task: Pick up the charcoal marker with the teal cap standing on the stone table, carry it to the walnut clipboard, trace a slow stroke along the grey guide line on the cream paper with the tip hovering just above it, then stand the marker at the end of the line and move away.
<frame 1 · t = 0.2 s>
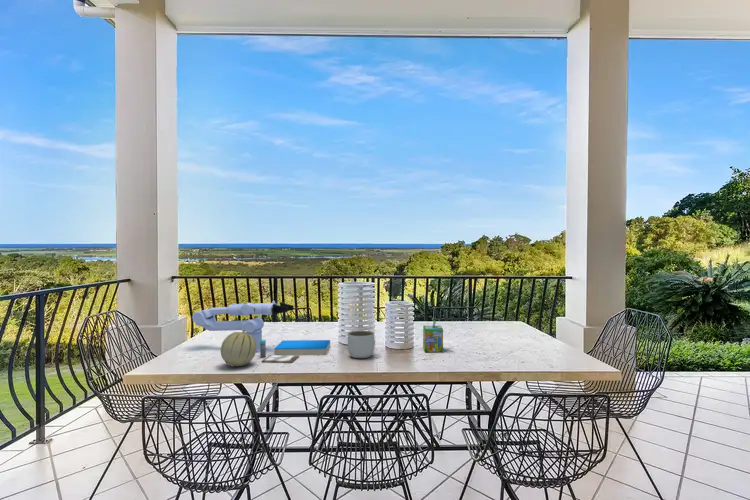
hand: (290, 308, 191), 21 cm above the table, tool horizontal, fingers open, 7 cm apart
book: (303, 352, 191), on the table
clipboard: (280, 359, 175), on the table
marker: (263, 357, 179), on the table
cantaloupe: (238, 366, 166), on the table
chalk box: (433, 350, 189), on the table
planter: (361, 356, 179), on the table
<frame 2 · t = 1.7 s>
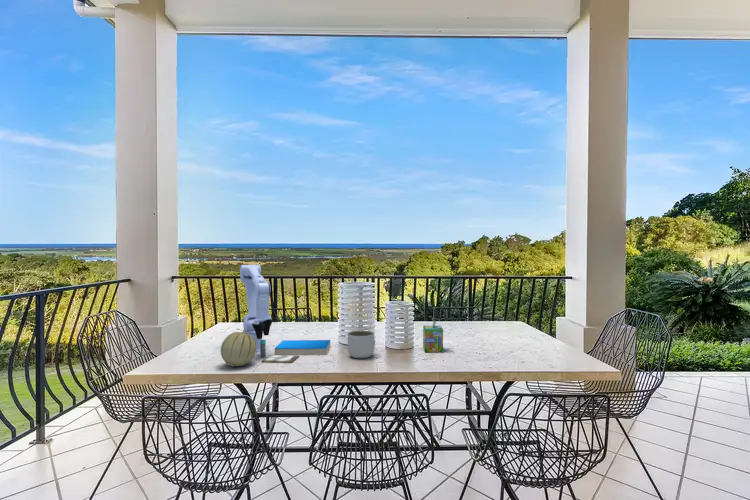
hand: (262, 337, 179), 9 cm above the table, tool pointing down, fingers open, 7 cm apart
nothing on the table moved.
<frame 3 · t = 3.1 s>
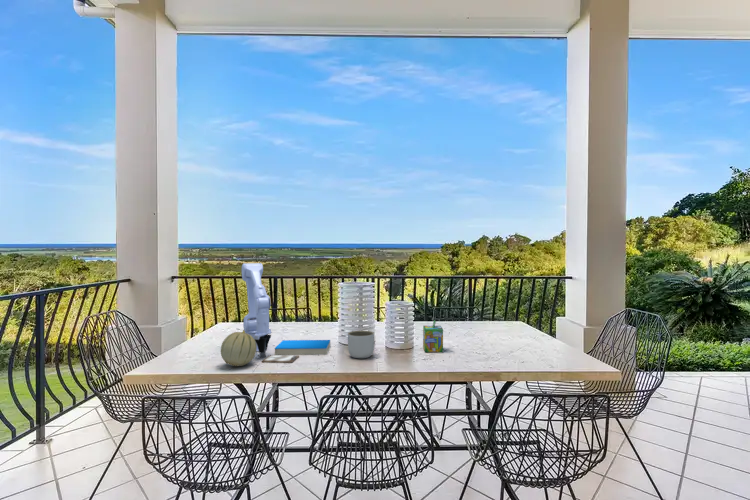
hand: (262, 351, 179), 3 cm above the table, tool pointing down, fingers closed on marker, 2 cm apart
marker: (263, 357, 179), on the table, touching gripper
everything else where it was.
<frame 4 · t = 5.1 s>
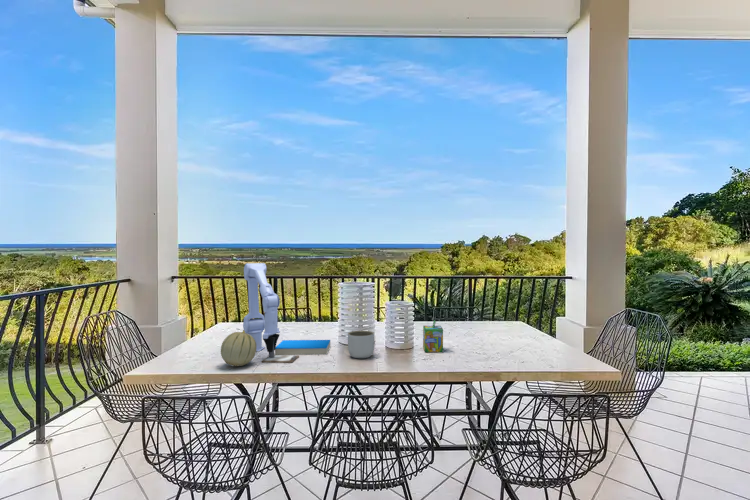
hand: (271, 351, 175), 4 cm above the table, tool pointing down, fingers closed on marker, 2 cm apart
marker: (271, 356, 175), point 1 cm above the table, touching gripper
everything else where it was.
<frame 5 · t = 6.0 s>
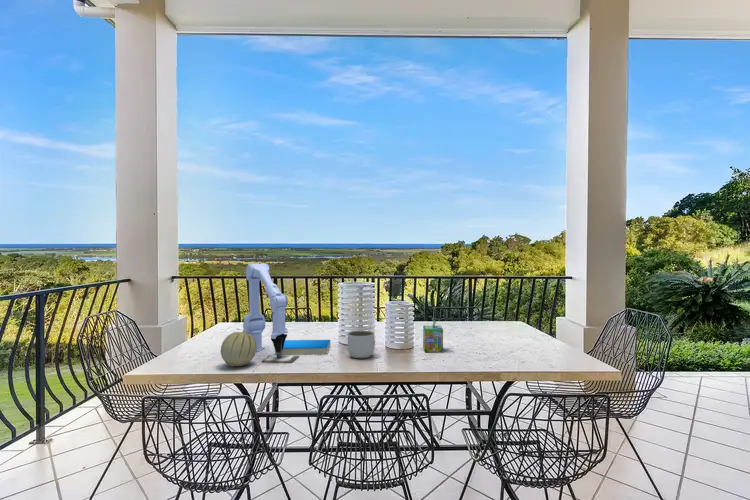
hand: (279, 351, 175), 4 cm above the table, tool pointing down, fingers closed on marker, 2 cm apart
marker: (279, 356, 175), point 1 cm above the table, touching gripper
everything else where it was.
when the fingers open (4 cm above the table, at t = 7.0 s): marker stays where it is, resting on clipboard.
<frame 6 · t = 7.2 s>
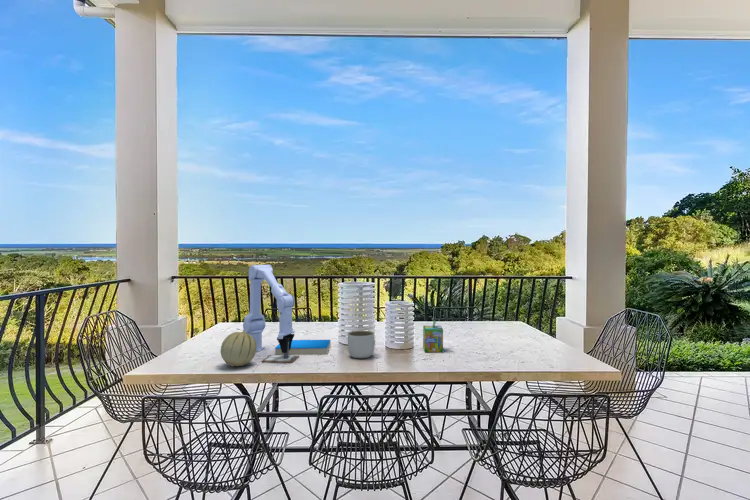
hand: (286, 351, 175), 4 cm above the table, tool pointing down, fingers open, 4 cm apart
marker: (286, 357, 175), point 1 cm above the table, touching clipboard
everything else where it was.
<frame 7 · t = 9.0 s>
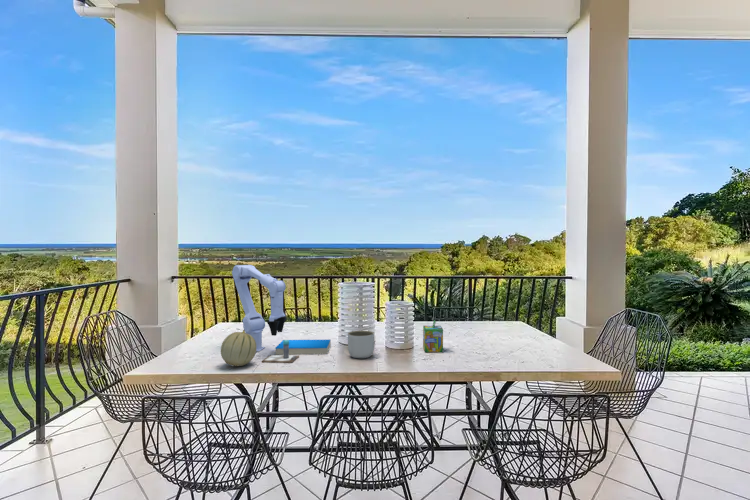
hand: (277, 333, 185), 10 cm above the table, tool pointing down, fingers open, 7 cm apart
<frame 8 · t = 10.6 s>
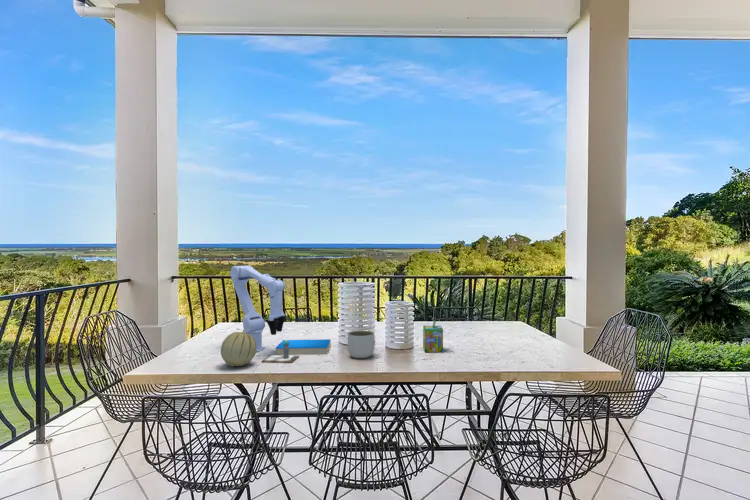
hand: (276, 333, 186), 10 cm above the table, tool pointing down, fingers open, 7 cm apart
at the end: marker 0.2 cm from the target spot on the clipboard, point 0.8 cm above the clipboard's base; marker tilted 1°; the gripper is holding nothing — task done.
